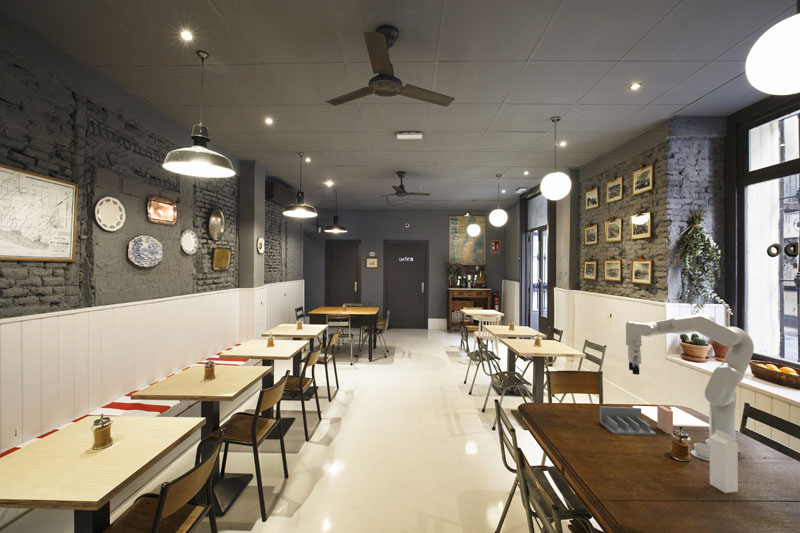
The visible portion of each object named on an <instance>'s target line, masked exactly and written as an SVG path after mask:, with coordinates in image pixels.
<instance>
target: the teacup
mask: <svg viewBox="0 0 800 533" xmlns="http://www.w3.org/2000/svg"><path fill="white" fill-rule="evenodd" d="M693 446H694V449H692V450H690V452H689V453H690V454H691V455H692V456H693V457H696V458H698V459H701V460H704V461H708V462H710V446H709V445H707V444H706V443H702V442H695V443H693Z"/></svg>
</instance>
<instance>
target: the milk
mask: <svg viewBox="0 0 800 533" xmlns="http://www.w3.org/2000/svg"><path fill="white" fill-rule="evenodd" d="M738 445H739V444H738V442H736V440H735V441H733V440H731V435H729V434H726V433H724V432H722V431H719V430H717V429H716V430H715V434H713V435H712V436H711V437H710V461H709V485H711V486H712V487H714V488H716V489H718V490H719V491H721V492H723V493H724V494H728V493H738V492H739V489H738V488H739V483H738V482H739V477H738V476H739V468H738V466H739V465H738V463H739V462H738V461H739V460H738V458H739V457H738V456H739V454H738V453H739V452H738V447H739V446H738Z"/></svg>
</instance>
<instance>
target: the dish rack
mask: <svg viewBox="0 0 800 533" xmlns="http://www.w3.org/2000/svg"><path fill="white" fill-rule="evenodd" d="M599 423H600V424H601V425H602V426H603V427H605V428H606V429H607V431H609V432H611V433H612V434H616V435H634V436H635V435H637V436H640V435H641V436H657V433H656V432H655V431H654V430H652V429H651V425H650V424H649V423H648V422H646V421H644V419H642V413H641V408H633V407H626V406H601V405H600V406H599Z"/></svg>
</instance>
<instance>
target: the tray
mask: <svg viewBox="0 0 800 533" xmlns="http://www.w3.org/2000/svg"><path fill="white" fill-rule="evenodd" d="M632 408H641V415H643V416H645V417H647V418H648V419H650V420H652V421H654V422H655V423H657V406H649V405H647V406H646V405H645V406H643V405H633V406H632ZM669 408H670V410H671V411H673V427H698V428H699V427H701V428H702V427H703V428H704V427H705V428H709V423H708V422H706V421H703V420H701V419H700V418H697V417H695V416H694V415H692V414H689V413H688V412H685V411H684V410H681V409H679V408H678V407H675V406H670V407H669Z"/></svg>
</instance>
